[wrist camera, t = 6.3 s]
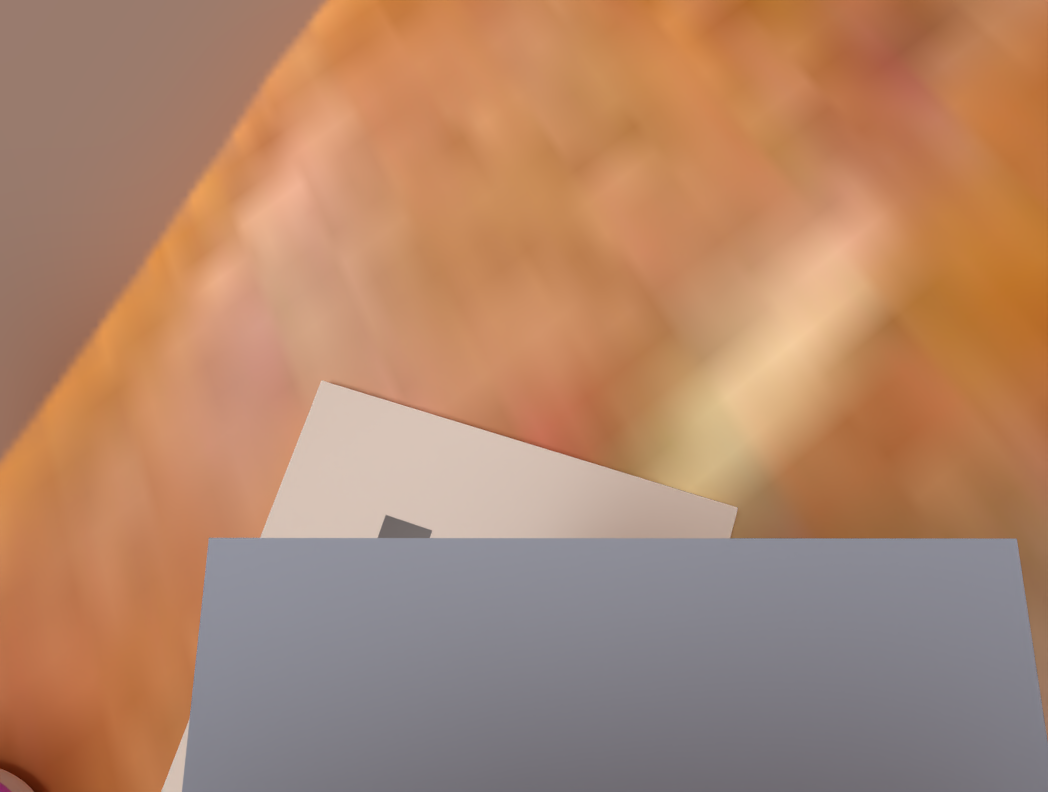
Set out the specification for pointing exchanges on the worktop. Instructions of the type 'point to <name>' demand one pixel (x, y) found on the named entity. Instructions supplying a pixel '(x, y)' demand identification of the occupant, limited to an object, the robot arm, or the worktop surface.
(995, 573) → the gray block
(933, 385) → the worktop surface
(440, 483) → the pad
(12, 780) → the supplement bottle
